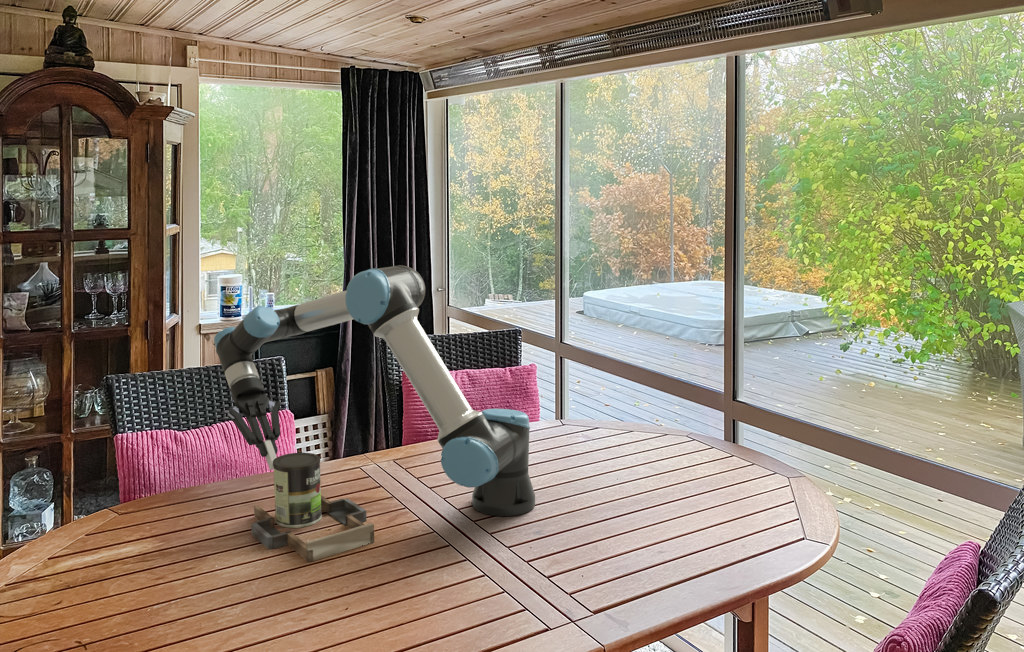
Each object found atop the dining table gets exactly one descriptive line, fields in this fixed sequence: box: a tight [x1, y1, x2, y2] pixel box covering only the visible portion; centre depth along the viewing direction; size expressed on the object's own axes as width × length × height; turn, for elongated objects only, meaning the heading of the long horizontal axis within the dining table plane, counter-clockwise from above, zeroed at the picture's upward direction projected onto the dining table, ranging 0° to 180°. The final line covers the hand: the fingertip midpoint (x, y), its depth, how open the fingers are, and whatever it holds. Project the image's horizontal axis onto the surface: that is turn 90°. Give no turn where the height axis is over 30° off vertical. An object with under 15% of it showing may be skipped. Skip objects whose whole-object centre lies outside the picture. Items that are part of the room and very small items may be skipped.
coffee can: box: [273, 452, 323, 529], centre depth 176 cm, size 10×10×14 cm
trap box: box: [250, 495, 375, 563], centre depth 171 cm, size 28×23×4 cm
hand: (274, 466), depth 184 cm, fingers closed
